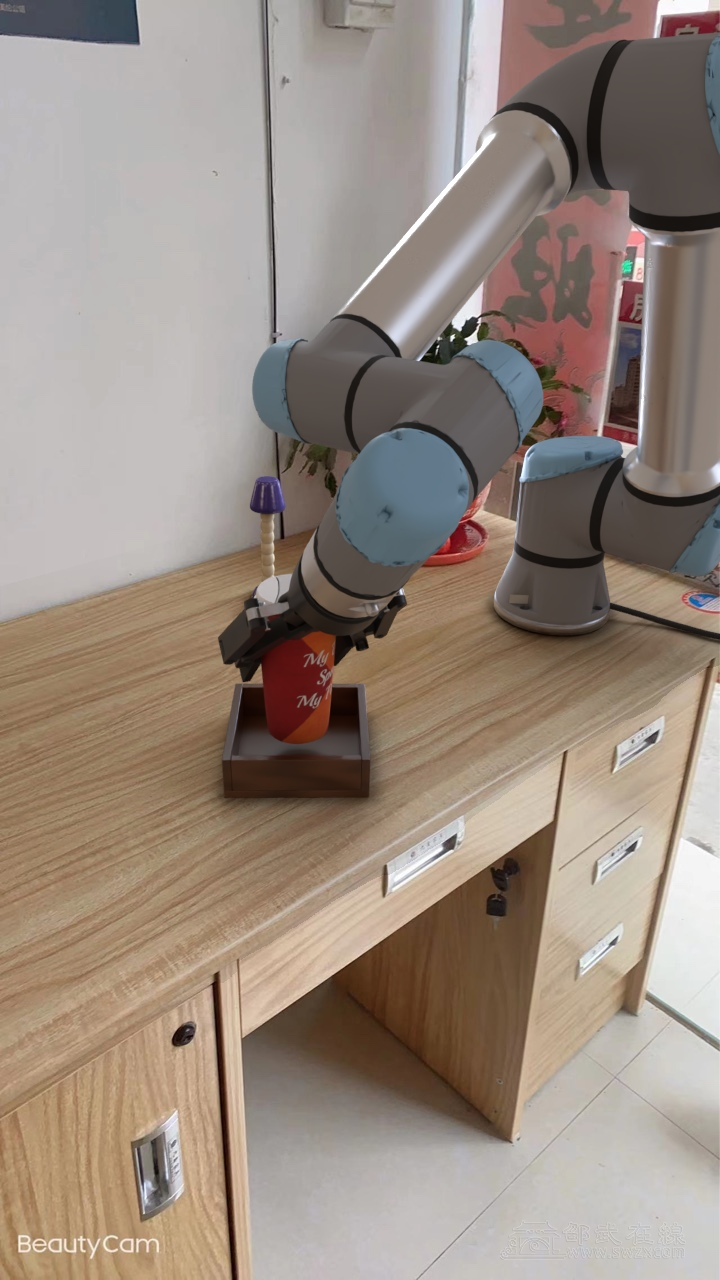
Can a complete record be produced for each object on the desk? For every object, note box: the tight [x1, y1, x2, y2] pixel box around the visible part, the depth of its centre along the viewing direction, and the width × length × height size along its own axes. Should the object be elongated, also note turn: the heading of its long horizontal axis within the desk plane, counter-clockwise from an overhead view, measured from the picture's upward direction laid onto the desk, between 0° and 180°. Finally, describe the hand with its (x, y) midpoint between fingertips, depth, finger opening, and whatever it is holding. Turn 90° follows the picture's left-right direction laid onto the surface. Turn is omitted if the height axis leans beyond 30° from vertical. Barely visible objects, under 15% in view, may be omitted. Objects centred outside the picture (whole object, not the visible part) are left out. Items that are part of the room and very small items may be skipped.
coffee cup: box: [254, 573, 336, 744], centre depth 84 cm, size 8×8×15 cm
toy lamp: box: [249, 475, 287, 598], centre depth 117 cm, size 5×5×17 cm
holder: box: [221, 683, 371, 798], centre depth 88 cm, size 14×14×4 cm
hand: (287, 661), depth 87 cm, fingers closed on coffee cup, 8 cm apart
